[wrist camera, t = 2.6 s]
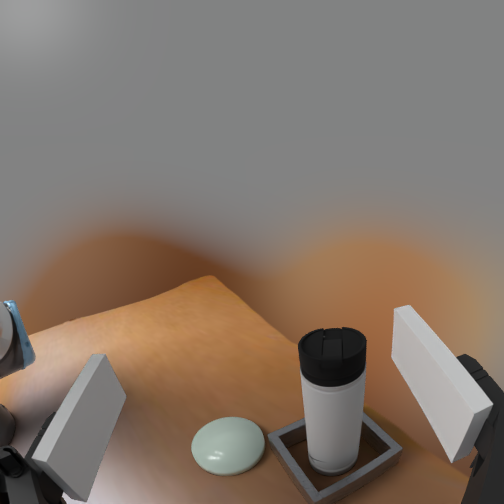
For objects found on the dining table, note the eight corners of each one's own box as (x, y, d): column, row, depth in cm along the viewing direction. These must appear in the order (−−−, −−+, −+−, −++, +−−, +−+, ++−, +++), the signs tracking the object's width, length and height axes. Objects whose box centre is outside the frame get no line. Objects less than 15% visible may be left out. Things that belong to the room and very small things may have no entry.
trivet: (186, 435, 41) (184, 430, 40) (248, 413, 44) (247, 408, 43) (205, 485, 32) (202, 481, 31) (277, 458, 35) (276, 454, 34)
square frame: (271, 448, 37) (267, 434, 35) (346, 411, 40) (346, 396, 39) (315, 513, 26) (314, 502, 25) (398, 462, 30) (402, 448, 28)
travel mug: (305, 479, 31) (292, 363, 24) (311, 439, 37) (300, 319, 30) (357, 478, 29) (370, 359, 23) (357, 438, 35) (364, 315, 29)
